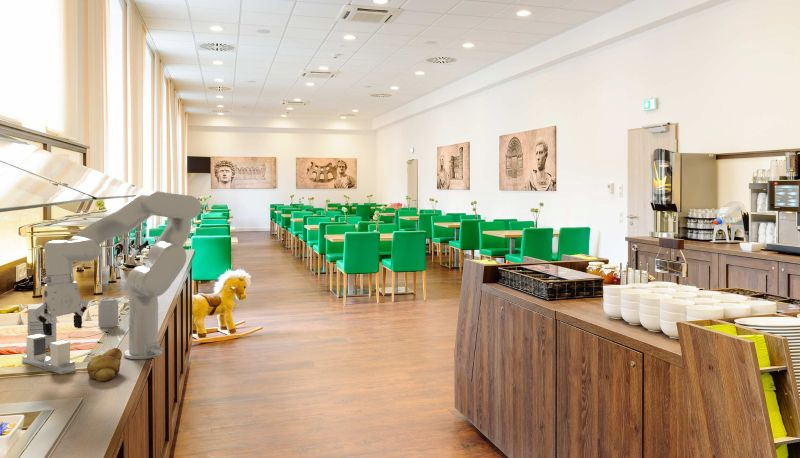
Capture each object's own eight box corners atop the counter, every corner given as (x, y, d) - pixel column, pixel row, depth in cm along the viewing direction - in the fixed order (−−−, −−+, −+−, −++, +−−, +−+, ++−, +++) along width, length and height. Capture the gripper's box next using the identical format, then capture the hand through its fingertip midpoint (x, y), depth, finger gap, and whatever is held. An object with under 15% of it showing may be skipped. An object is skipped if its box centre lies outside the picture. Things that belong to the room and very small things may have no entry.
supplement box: (28, 344, 216) (27, 304, 215) (56, 341, 220) (56, 302, 219) (27, 350, 208) (26, 309, 207) (56, 347, 212) (56, 307, 211)
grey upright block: (94, 327, 242) (94, 299, 242) (109, 324, 249) (109, 296, 249) (107, 330, 240) (107, 301, 239) (122, 326, 247) (122, 298, 246)
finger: (70, 363, 189) (69, 342, 189) (57, 366, 186) (57, 344, 185) (61, 360, 191) (61, 339, 191) (49, 363, 188) (49, 342, 187)
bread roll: (117, 382, 179) (117, 356, 179) (82, 384, 176) (82, 358, 175) (122, 369, 191) (122, 345, 191) (89, 371, 188) (89, 347, 187)
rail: (75, 370, 188) (75, 343, 187) (61, 374, 184) (61, 346, 184) (36, 358, 199) (36, 332, 198) (22, 362, 195) (22, 335, 194)
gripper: (39, 285, 177) (42, 339, 179) (93, 275, 192) (95, 326, 194) (25, 282, 181) (28, 336, 183) (79, 273, 196) (82, 323, 198)
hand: (63, 331), depth 188 cm, fingers open, 9 cm apart
